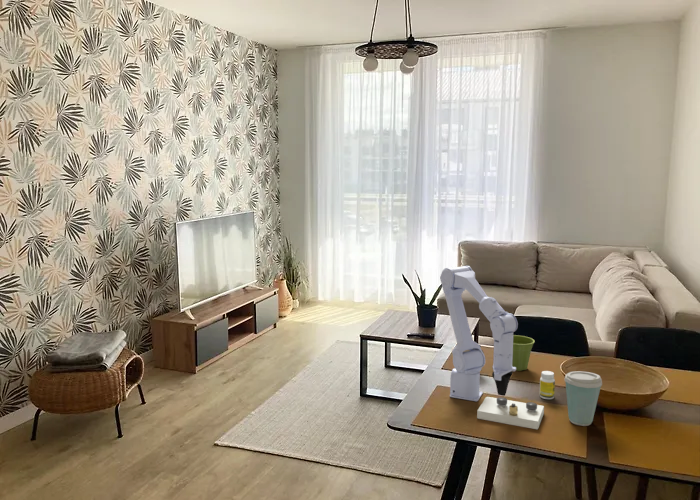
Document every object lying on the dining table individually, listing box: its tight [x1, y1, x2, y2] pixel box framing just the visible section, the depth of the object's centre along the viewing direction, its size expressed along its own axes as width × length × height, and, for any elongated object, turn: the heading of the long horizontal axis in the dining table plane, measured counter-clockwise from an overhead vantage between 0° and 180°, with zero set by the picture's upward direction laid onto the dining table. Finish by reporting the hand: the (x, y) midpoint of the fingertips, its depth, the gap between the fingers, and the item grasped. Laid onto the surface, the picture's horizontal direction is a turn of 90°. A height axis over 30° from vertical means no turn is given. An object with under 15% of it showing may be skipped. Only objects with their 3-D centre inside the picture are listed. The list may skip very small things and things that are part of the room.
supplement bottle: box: [539, 370, 556, 400], centre depth 192 cm, size 5×5×8 cm
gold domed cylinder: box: [509, 404, 518, 416], centre depth 174 cm, size 2×2×3 cm
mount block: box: [476, 396, 545, 430], centre depth 178 cm, size 18×12×2 cm, turn 63°
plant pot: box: [512, 334, 536, 372], centre depth 219 cm, size 12×12×11 cm
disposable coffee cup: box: [564, 370, 603, 427], centre depth 173 cm, size 11×11×15 cm
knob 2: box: [525, 401, 538, 412], centre depth 176 cm, size 3×3×4 cm
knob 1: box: [496, 396, 508, 408], centre depth 180 cm, size 3×3×4 cm
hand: (501, 394), depth 180 cm, fingers closed
